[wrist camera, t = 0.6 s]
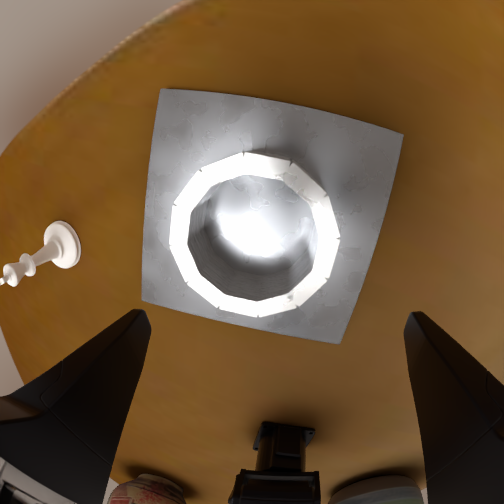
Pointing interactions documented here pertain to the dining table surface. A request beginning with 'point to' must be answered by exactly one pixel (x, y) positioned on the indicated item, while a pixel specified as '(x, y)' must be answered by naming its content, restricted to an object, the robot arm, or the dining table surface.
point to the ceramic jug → (147, 491)
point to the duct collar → (263, 211)
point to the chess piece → (47, 253)
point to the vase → (380, 491)
